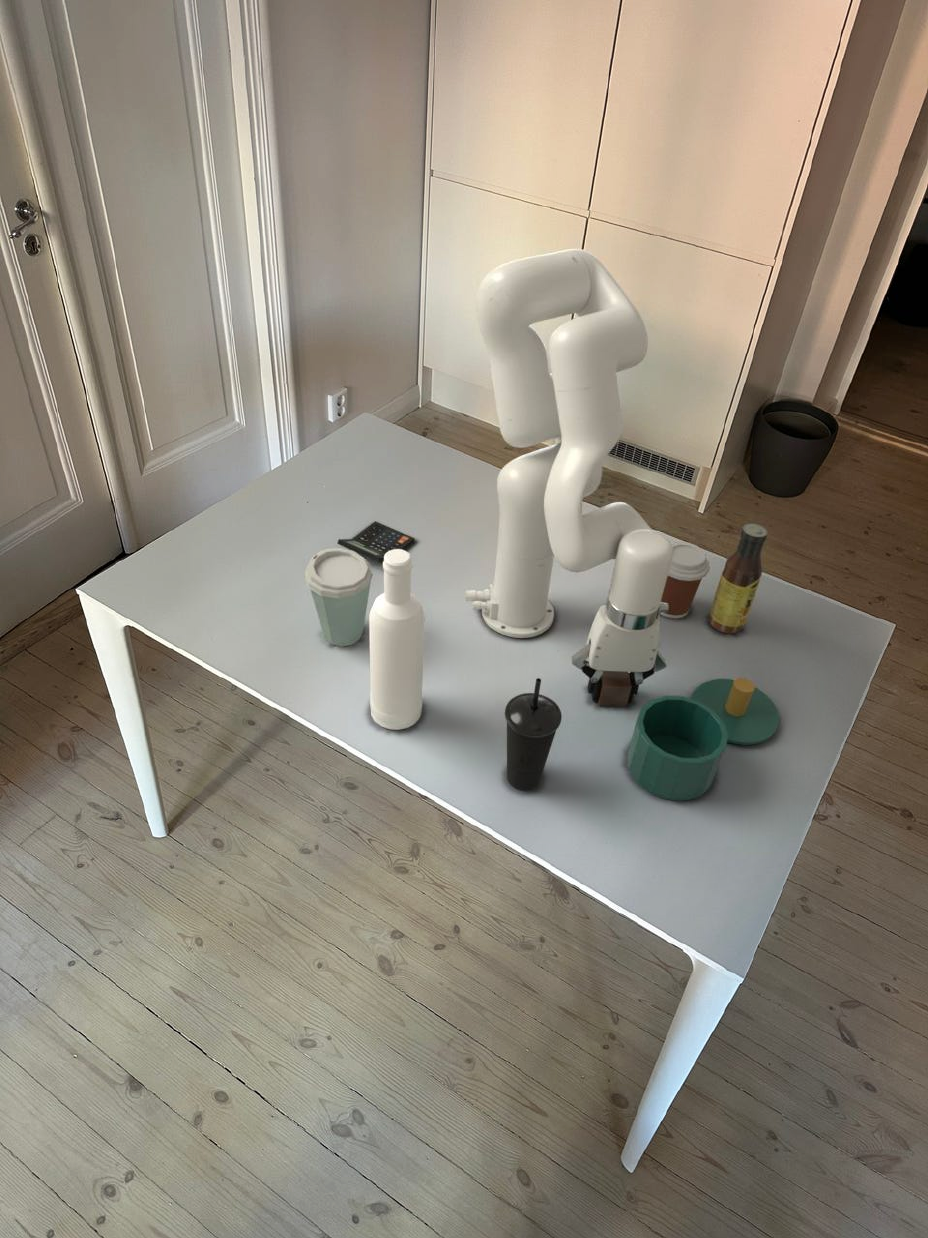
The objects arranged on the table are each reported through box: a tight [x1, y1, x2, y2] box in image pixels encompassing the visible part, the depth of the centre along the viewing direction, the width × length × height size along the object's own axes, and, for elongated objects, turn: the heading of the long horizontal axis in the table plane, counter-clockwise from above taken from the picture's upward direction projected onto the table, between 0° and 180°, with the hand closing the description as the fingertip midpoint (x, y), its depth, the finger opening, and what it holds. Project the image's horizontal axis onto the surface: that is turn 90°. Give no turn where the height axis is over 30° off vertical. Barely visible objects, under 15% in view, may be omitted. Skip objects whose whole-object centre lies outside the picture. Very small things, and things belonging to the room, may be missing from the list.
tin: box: [626, 695, 728, 802], centre depth 127 cm, size 13×13×8 cm
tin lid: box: [690, 677, 780, 746], centre depth 136 cm, size 14×14×7 cm
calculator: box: [337, 521, 415, 563], centre depth 165 cm, size 9×12×3 cm
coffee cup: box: [659, 541, 711, 619], centre depth 154 cm, size 9×9×12 cm
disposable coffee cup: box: [304, 547, 373, 647], centre depth 142 cm, size 11×11×15 cm
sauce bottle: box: [708, 523, 769, 635], centre depth 149 cm, size 7×6×20 cm
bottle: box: [368, 549, 426, 731], centre depth 125 cm, size 8×8×30 cm
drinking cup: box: [504, 677, 563, 792], centre depth 120 cm, size 8×8×20 cm
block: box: [597, 671, 632, 708], centre depth 139 cm, size 4×4×4 cm
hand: (611, 694), depth 140 cm, fingers open, 4 cm apart
